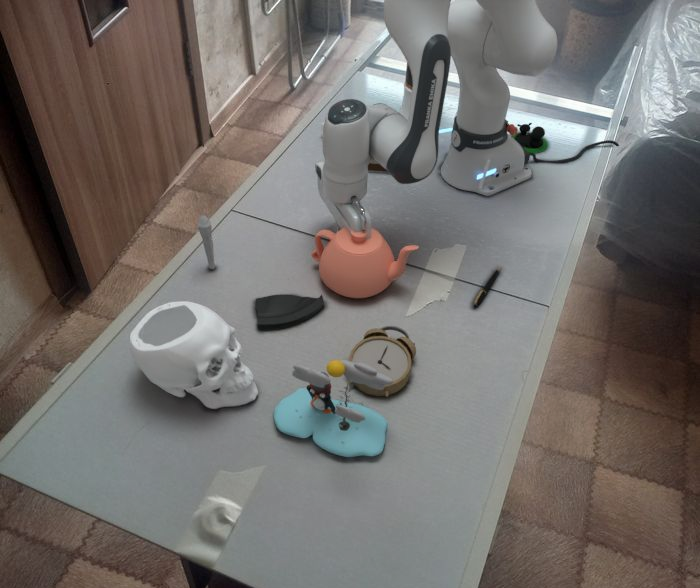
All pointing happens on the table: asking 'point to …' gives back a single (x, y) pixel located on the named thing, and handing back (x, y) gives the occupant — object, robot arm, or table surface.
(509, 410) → the table surface
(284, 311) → the dark sector wedge
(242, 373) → the skull planter
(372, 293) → the teapot
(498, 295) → the table surface
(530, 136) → the toy figurine
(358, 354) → the alarm clock
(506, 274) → the table surface
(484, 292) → the fountain pen
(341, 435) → the penguin figurine
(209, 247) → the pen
